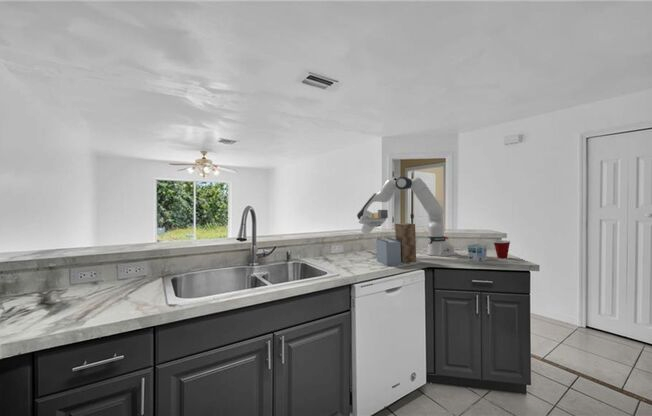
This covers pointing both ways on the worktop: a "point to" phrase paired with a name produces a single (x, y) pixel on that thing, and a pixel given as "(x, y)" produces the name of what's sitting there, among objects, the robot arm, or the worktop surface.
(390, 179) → the robot arm
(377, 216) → the ochre bar
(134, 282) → the worktop surface
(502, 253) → the plastic cup
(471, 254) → the light bulb box
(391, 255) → the slate ledge
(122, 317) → the worktop surface
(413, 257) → the walnut post
